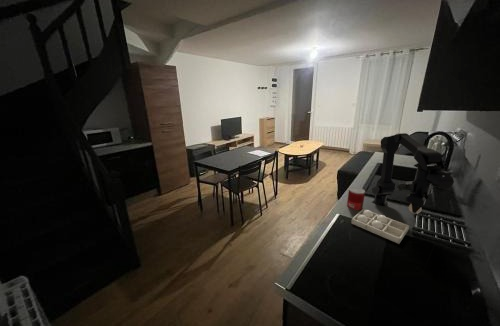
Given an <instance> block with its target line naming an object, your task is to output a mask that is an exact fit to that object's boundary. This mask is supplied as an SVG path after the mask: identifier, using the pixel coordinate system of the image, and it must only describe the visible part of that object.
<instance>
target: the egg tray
mask: <svg viewBox="0 0 500 326" xmlns="http://www.w3.org/2000/svg"><path fill="white" fill-rule="evenodd" d="M364 210H366V209H365V208H362V209H361V210H359V212H358V213H357V214H356V215H354V216H352V218H351V224H352V225H355V226H356V227H359V228H362V229H364V230H366V231H368V232H370V233H373V234H375V235H378V236H380V237H382V238H384V239H387V240H389V241H391V242H393V243H396V244H398V245H400V243H401V242H402V240H403V239H404V237H405V236H406V234H407V233H408V231H409V229H410V224H406V223H404V222H401V221H398V220H394V219H392V218H390V217H387V219H388V222H387V223H386V224H384V223H382V225H383V228H382V229H381V230H379V229H377V228H374V227H372V226H371V223H372V222H373V221H375V220H377V217H378V216H379V215H380V214H378V213H376V212H373V211H371V212H372V213H373V217H372V218H368V217H367V219H368V221H367V223H366V224H365V223H362V222H360V221H357V217H358V216H359V215H363V211H364Z"/></svg>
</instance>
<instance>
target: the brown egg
mask: <svg viewBox="0 0 500 326" xmlns="http://www.w3.org/2000/svg"><path fill="white" fill-rule="evenodd" d="M408 210H409V211H410V212H411V213H413V212H412V203H410V204H409V205H408ZM421 212H422V207H421V208H420V209H419V210H418V211H417V212H416V213H415V214H419V213H421ZM413 214H414V213H413Z"/></svg>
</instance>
